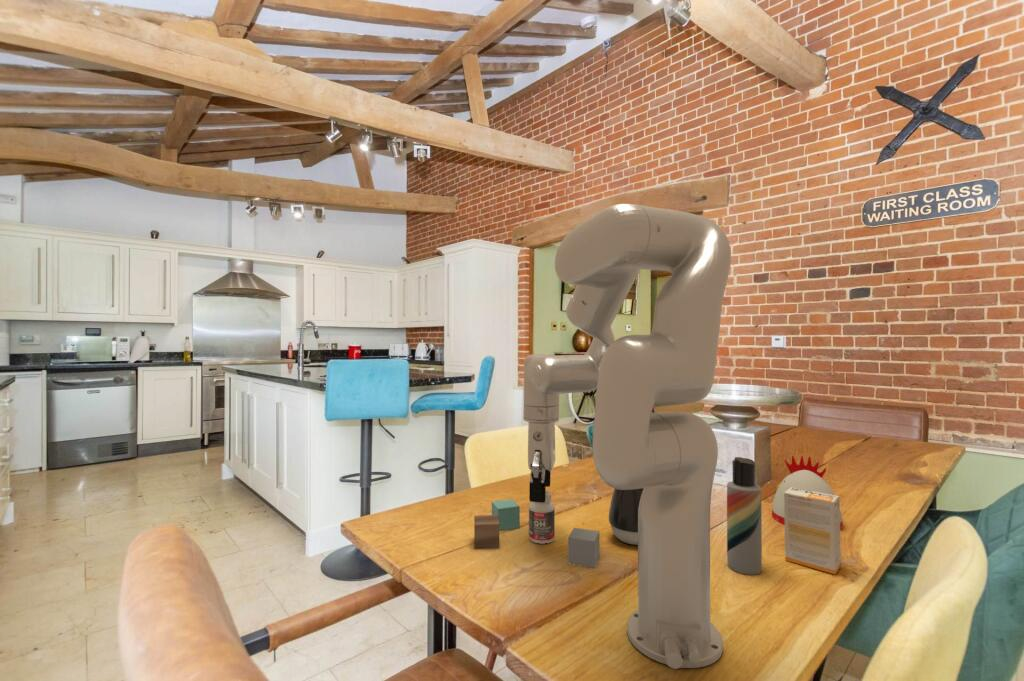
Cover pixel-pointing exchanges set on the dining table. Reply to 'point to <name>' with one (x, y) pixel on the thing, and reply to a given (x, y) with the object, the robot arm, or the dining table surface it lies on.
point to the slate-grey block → (583, 547)
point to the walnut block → (486, 532)
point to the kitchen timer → (800, 485)
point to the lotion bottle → (744, 519)
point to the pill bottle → (542, 521)
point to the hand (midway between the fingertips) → (540, 493)
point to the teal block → (507, 514)
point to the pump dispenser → (625, 514)
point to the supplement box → (812, 529)
